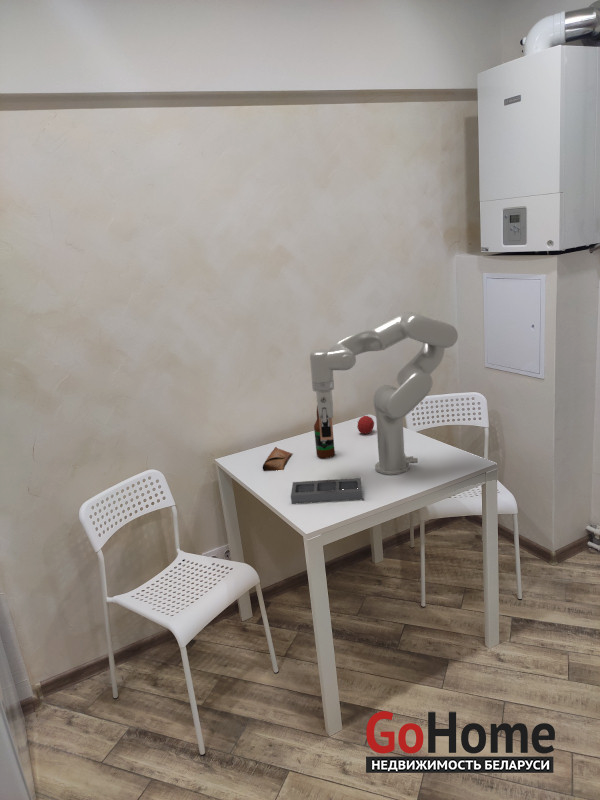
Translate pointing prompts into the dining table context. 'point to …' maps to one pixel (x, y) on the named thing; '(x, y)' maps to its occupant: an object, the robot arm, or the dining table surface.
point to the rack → (326, 490)
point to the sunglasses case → (276, 460)
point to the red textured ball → (365, 424)
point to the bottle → (323, 442)
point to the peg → (331, 429)
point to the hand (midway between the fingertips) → (326, 433)
